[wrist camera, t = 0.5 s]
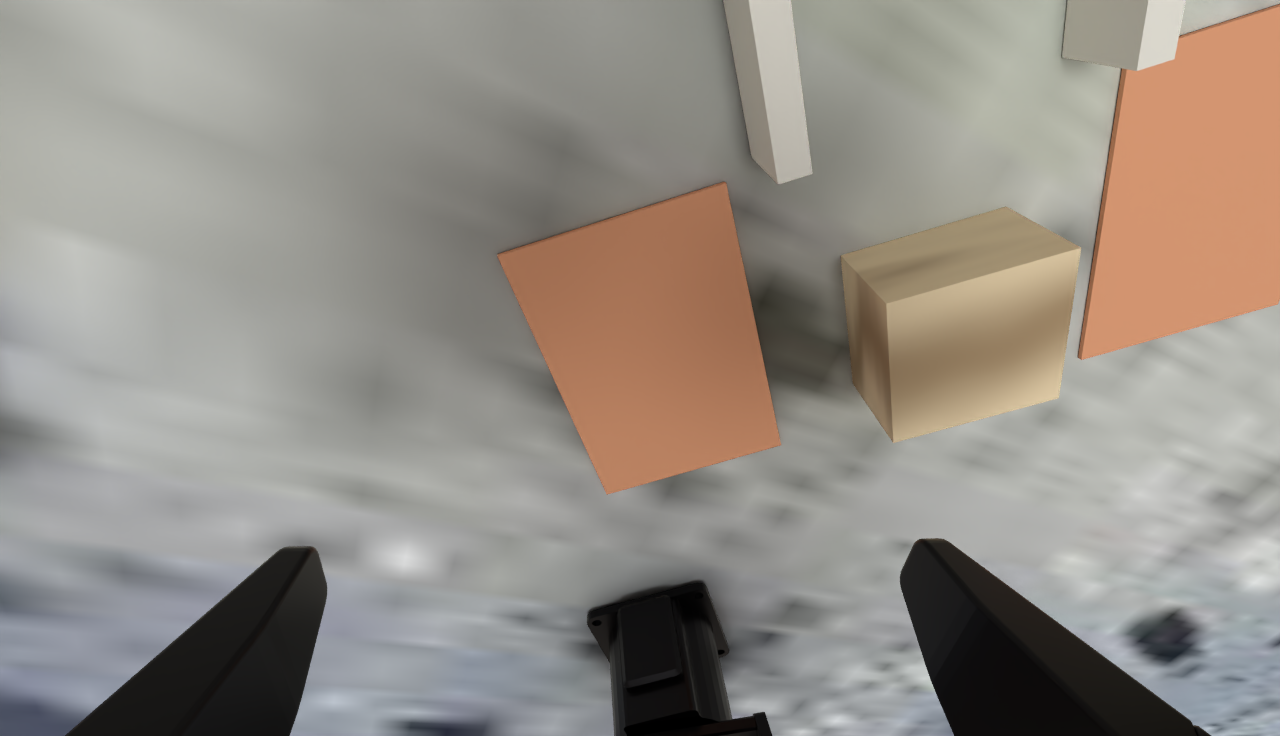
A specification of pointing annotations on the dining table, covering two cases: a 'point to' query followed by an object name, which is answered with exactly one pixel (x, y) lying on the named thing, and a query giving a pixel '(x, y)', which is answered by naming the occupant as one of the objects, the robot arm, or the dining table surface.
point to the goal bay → (771, 85)
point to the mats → (721, 306)
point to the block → (959, 321)
